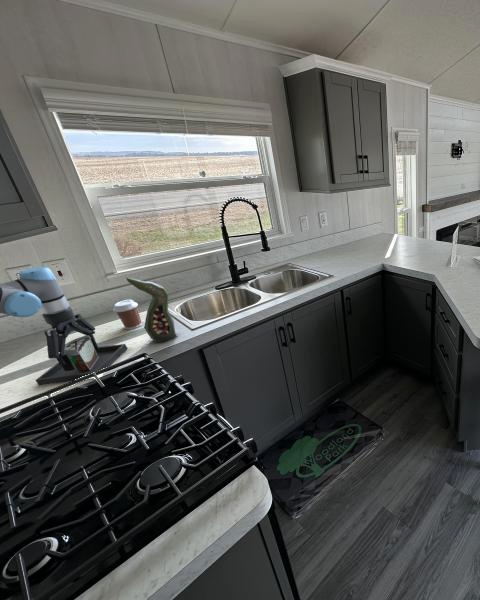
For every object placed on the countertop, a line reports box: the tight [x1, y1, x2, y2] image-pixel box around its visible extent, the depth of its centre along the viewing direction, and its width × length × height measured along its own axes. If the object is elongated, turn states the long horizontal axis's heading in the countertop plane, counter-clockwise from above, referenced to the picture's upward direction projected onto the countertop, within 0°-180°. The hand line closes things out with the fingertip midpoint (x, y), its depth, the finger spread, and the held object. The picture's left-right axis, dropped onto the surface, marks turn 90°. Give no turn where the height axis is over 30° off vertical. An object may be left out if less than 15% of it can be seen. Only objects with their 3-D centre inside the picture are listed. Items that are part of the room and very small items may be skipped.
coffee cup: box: [112, 299, 143, 330], centre depth 152 cm, size 9×9×12 cm
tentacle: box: [125, 277, 177, 343], centre depth 138 cm, size 9×12×30 cm
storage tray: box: [35, 343, 128, 386], centre depth 126 cm, size 20×19×2 cm
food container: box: [64, 335, 99, 371], centre depth 123 cm, size 12×6×10 cm, turn 25°
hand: (83, 359), depth 125 cm, fingers open, 13 cm apart
